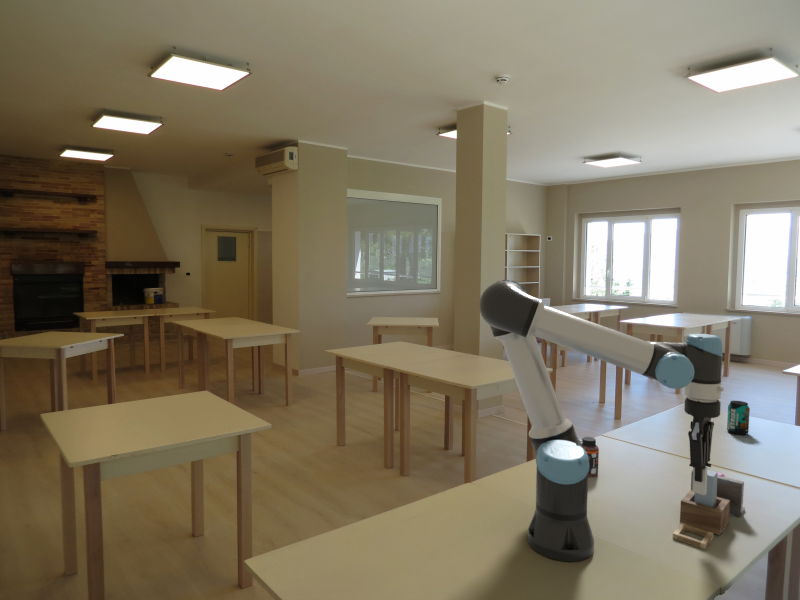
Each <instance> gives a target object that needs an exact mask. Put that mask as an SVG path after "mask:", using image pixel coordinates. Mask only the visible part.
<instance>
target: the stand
mask: <svg viewBox="0 0 800 600" xmlns="http://www.w3.org/2000/svg"><path fill="white" fill-rule="evenodd" d="M685 531H686V532H689V533H692V534H694V535H695V534H696V535H698V536H701V537H703V538H702V540H699V539H697V538H694V537H692V536H689V535H685V534H683V533H684V532H685ZM672 539H675V540H677V541H680V542H683V543H686V544H690V545H692V546H694V547H698V548H700V549H703V550H706V549H707V548H708V545H709V544H710V543H711V542H712V540H713V539H714V533H712V532H709V531H705V530H702V529H699V528H696V527H693V526H690V525H687V524H684V523H680V524H679V526H678V527H677V528H676V529H675V530H674V531H673V533H672Z"/></svg>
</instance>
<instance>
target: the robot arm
mask: <svg viewBox="0 0 800 600" xmlns="http://www.w3.org/2000/svg"><path fill="white" fill-rule="evenodd" d="M478 304H479V311H480V315H481V317H482V318H483V321H484V322H486V323H487V324H488V325H489V328H490V330H491V333H492V336H493V338H494V339H496V340H499V341H500V342H501V343H502V346H503V349H504V351H505V355H506V358H507V361H508V363H509V366H510V368H511V371H512V374H513V377H514V380H515V383H516V386H517V388H518V392H519V394H520V397H521V400H522V403H523V406H524V408H525V411H526V413H527V416H528V420H529V423H530V425H531V428H530V429H529V432H528V437H529V440H530V442H531V446H532V449H533V452H534V454H535V464H536V477H535V478H536V481H535V483H536V485H535V510H534V512H533V515H532V518H531V520H530V523H529V526H528V528H527V543H528V545H529V546H530V548H531V549H533V550H534V551H535V552H537V553H538V554H540V555H541V556H544V557H546V558H549V559H552V560H554V561H555V560H556V561H559V562H560V561H561V562H579V561H583V560H587V559H588V558H590V557H591V556H592V555H593V554H594V551H595V539H594V535H593V531H592V528H591V525H590V522H589V519H588V493H589V492H588V491H589V488H588V487H589V476H588V471H589V461H588V455H587V452H586V451H585V450H584V449H583V448H582V445H581V443H582V441H580V439H579V438H578V435H577V433H576V430H575V427H574V424H573V422H572V421H571V420H570V419H568V418H566V417H565V416H564V414H563V411H562V408H561V406H560V403H559V400H558V398H557V397H558V396H557V395H556V391H555V389H554V385H553V384H552V380H551V377H550V374H549V371H548V369H547V367H546V364H545V360H544V358H543V354H542V352H541V348H540V347H539V344H538V343H539V342H538V341H537V338H539V339H542V340H545V341H548V342H551V343H553V344H556V345H559V346H561V347H564V348H567V349H569V350H572V351H576V352H577V353H580V354H584V355H586V356H588V357H591V358H594V359H598V360H601V361H603V362H605V363H608V364H611V365H613V366H617V367H620V368H622V369H625V370H628V371H630V372H632V373H633V372H634V373H637V374H639V375H641V376H643V377H646V378H649V379H651V380H654V381H657V382H659V383H660V384H661V385H663V386H665V387H667V388H669V389H674V390H676V389H683V388H684V395H685V398H684V408H683V409H684V412H685V413H686V414H687V415H690V416H692V421H690V430H689V431H688V432H687V433H688V434H687V435H688V439H689V457H690V458H689V459H690V463H689V464H688V465H689V467H692V470H693V490H692V492H694V493H698V494H702V495H705V494H706V492H707V469H708V468H711V467H712V463H710V462H711V453H712V451H711V450H712V444H713V443H712V442H713V441H712V440H713V432H714V427H715V422H714V421H712V419H716V418H718V417H720V416H721V407H722V406H721V404H722V403H721V401H720V399H721V397H722V396H721V395H722V394H721V392H724V391H725V390H724V387H723V386H722V367H723V358H724V354H723V341H722V338H721V337H719V336H718V335H714V334H708V333H689V334H688V335H686V340H685V341H682V342H667V341H649V340H647V341H646V340H643V339H642V338H638V337H635V336H632V335H629V334H626V333H624V332H620V331H618V330H616V329H612V328H610V327H606V326H604V325H601V324H598V323H595V322H592V321H590V320H587V319H584V318H582V317H579V316H575V315H573V314H570V313H568V312H564V311H562V310H558V309H556V308H553V307H550V306H547V305H545V304H544V302H543V300H542V299H541V298H537V297H535V296H532V295H531V294H528V291H527V290H526V289H525V287H524V286H523V285H521V284H520V283H519V282H517V281H515V280H511V279H503V280H497V281H496V282H494V283H492V284H491V285H489V286H488V287H487V288H486V289H484V291H483V292H482V294H481V296H480V299H479V303H478ZM536 337H537V338H536Z"/></svg>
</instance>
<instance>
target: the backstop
mask: <svg viewBox="0 0 800 600" xmlns="http://www.w3.org/2000/svg"><path fill="white" fill-rule="evenodd" d="M690 476H691V479H690V490H693V469H692V470H691V475H690ZM744 485H745V482H744V481H743V480H739V479H735V478H731V477H727V476H725V477H723V476H719V475H718V476H717V496H716V497H720V498H724V499H727V500H730V509H729V515H732V516H736V517H739V518H741V517H742V515H743V514H744V512H745V511H746V509H745V507H744V506H743V505H744V504H743V503H744V487H745V486H744Z"/></svg>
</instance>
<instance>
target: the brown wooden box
mask: <svg viewBox="0 0 800 600" xmlns="http://www.w3.org/2000/svg"><path fill="white" fill-rule="evenodd" d="M694 499H695V493H694V492H692V490H691V489H690V490H689V491H688V492H687V493H686V495H684V496H683V497H682V498H681V500H680V507H679V508H680V513H679V523H680V524H681V523H684V524H687V525H690V526H693V527H696V528H699V529H702V530H705V531H709V532H712V533H713V535H714V534H715V535H717V536H721V534H722V533H723V531H724V530H725V528H726V527H727V525H728V524H729V522H730V514H729V509H730V500H727V499H724V498H720V497H716V508H713V507H709V506H706V505H702V504H699V503H696V502H694Z"/></svg>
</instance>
